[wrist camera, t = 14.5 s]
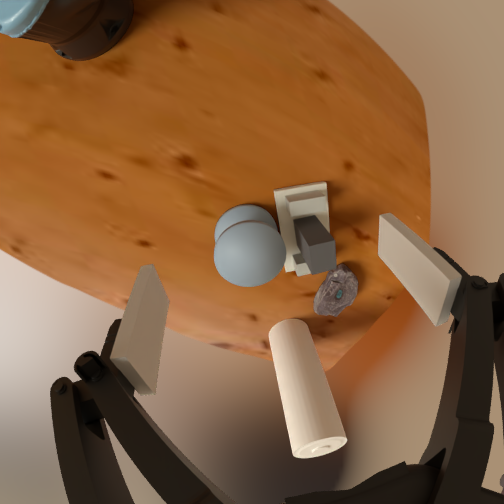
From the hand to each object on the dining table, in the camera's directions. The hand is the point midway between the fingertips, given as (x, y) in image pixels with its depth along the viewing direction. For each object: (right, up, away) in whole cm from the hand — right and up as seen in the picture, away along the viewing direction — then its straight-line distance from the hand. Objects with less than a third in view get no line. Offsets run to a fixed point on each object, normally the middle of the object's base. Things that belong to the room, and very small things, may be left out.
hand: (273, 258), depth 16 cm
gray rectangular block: (+8, +4, +34) cm, 36 cm away
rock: (+16, -7, +43) cm, 47 cm away
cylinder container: (+7, -18, +48) cm, 52 cm away
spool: (-2, +4, +35) cm, 35 cm away
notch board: (+8, +5, +35) cm, 37 cm away
